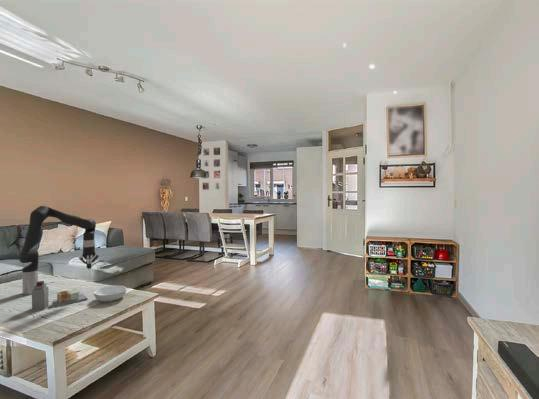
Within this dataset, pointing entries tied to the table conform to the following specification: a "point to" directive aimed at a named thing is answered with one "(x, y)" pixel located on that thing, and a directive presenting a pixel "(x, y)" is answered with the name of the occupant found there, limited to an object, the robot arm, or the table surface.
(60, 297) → the sleeve
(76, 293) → the block
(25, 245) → the robot arm
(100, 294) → the serving bowl
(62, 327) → the table surface
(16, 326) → the table surface
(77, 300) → the board
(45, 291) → the perfume bottle
